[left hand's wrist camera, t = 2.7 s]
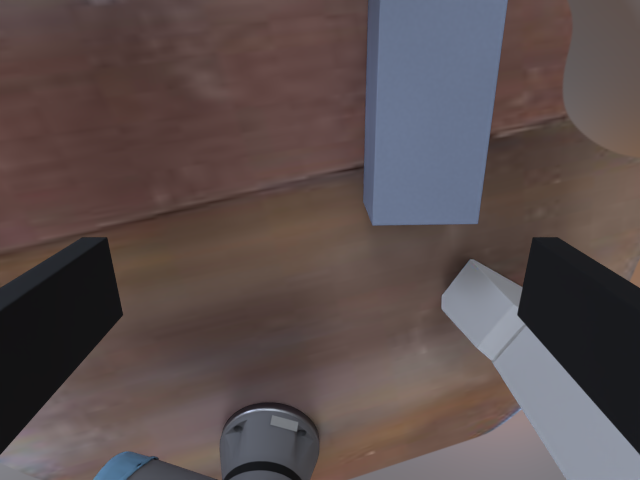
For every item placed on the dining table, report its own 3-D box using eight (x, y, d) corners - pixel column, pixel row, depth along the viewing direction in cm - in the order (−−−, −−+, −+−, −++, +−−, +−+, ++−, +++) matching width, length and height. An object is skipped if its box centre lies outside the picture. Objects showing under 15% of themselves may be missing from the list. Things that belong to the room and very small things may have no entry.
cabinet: (368, -3, 41) (380, -28, 32) (472, -5, 41) (512, -30, 32) (363, 202, 48) (372, 225, 40) (450, 200, 48) (478, 224, 40)
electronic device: (542, 296, 53) (793, 529, 25) (506, 337, 55) (699, 593, 27) (467, 253, 51) (651, 457, 23) (433, 298, 53) (561, 533, 25)
